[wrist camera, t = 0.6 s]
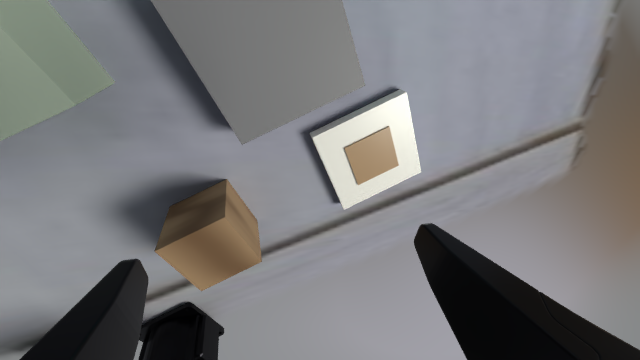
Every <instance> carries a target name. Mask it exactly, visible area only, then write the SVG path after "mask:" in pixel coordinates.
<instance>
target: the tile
mask: <svg viewBox="0 0 640 360" xmlns="http://www.w3.org/2000/svg"><path fill="white" fill-rule="evenodd" d="M310 136H311V138H312V140H313V142H314V145H315V147H316V149H317V151H318V154H319V156H320V158H321V160H322V163H323V165H324V167H325V169H326V172H327V174H328V176H329V178H330V181H331V183H332V185H333V187H334V190H335V192H336V194H337V196H338V199H339V201H340V203H341V205H342V207H343V209H344V210H345V209H347V208H349V207H351V206H353V205H355V204H357V203H359V202H361V201H363V200H365V199H367V198H369V197H371V196H373V195H375V194H377V193H379V192H381V191H383V190H385V189H387V188H390V187H392V186H394V185H396V184H398V183H400V182H402V181H404V180H406V179H408V178H410V177H412V176H414V175H416V174H418V173H420V172H421V168H420V162H419V157H418V151H417V146H416V140H415V135H414V129H413V124H412V118H411V113H410V107H409V102H408V96H407V92H405V91H403V90H401V89H399V90H397V91H395V92H393V93H391V94H389V95H387V96H385V97H383V98H381V99H379V100H377V101H375V102H372V103H370V104H368V105H366V106H364V107H362V108H360V109H358V110H356V111H354V112H352V113H350V114H348V115H346V116H343V117H341V118H339V119H337V120H335V121H333V122H331V123H329V124H327V125H325V126H323V127H321V128H319V129H317V130H315V131H312V132H310Z"/></svg>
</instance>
